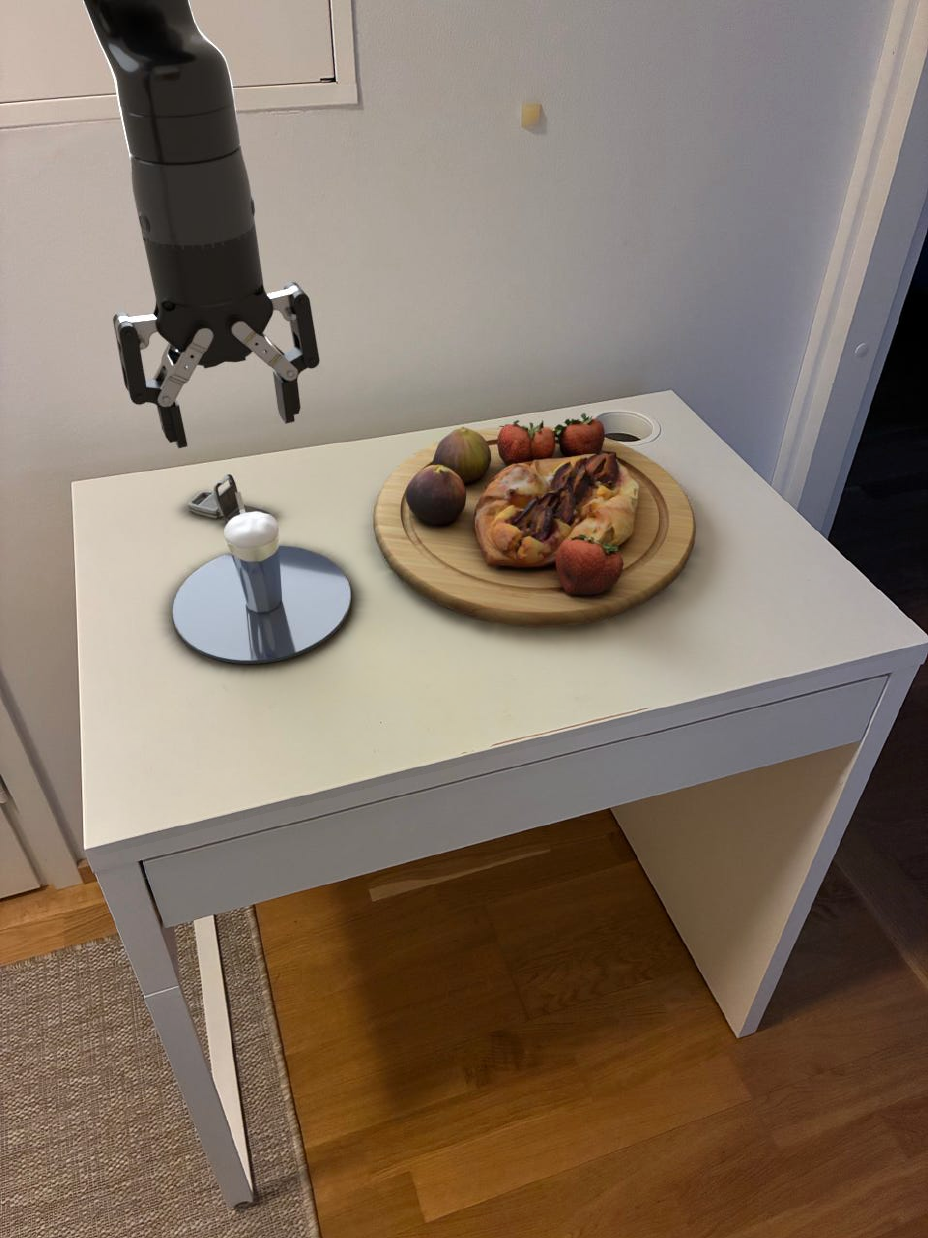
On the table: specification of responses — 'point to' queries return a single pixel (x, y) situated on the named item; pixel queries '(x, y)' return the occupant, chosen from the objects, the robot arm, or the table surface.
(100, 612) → the table surface
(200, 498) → the strap clip
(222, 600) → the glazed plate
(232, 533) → the milkshake
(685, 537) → the wooden plate
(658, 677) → the table surface
